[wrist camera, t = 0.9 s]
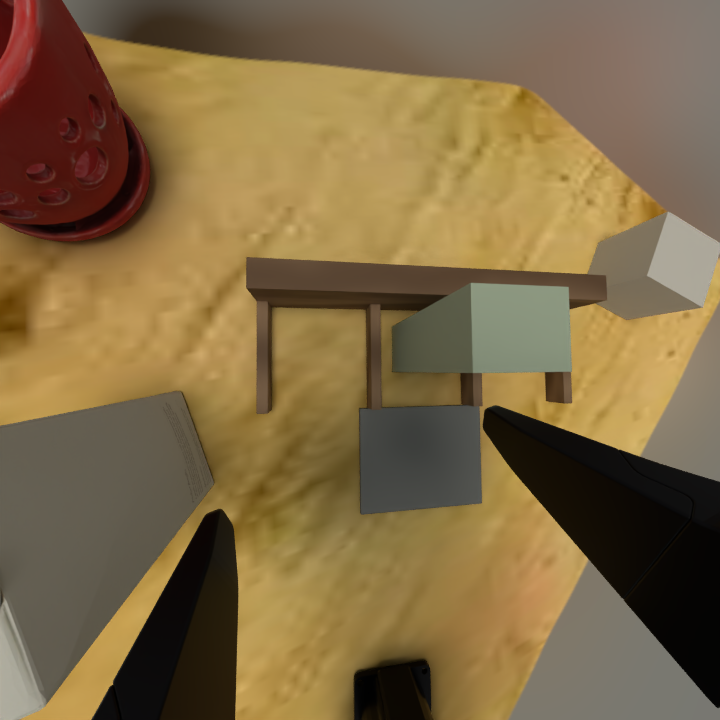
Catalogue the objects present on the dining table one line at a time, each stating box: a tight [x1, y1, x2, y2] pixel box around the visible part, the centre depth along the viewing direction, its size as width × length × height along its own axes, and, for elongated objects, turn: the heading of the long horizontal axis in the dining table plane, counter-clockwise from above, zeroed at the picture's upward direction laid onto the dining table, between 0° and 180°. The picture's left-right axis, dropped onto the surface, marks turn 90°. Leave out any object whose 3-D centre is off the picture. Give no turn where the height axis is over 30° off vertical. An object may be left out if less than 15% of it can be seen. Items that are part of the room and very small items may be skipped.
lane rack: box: [246, 257, 607, 414], centre depth 23 cm, size 10×27×6 cm, turn 91°
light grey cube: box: [588, 212, 720, 320], centre depth 27 cm, size 6×6×6 cm
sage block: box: [392, 283, 572, 373], centre depth 20 cm, size 4×5×13 cm
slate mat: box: [359, 405, 482, 515], centre depth 25 cm, size 9×11×1 cm
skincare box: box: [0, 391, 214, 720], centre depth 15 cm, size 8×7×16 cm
